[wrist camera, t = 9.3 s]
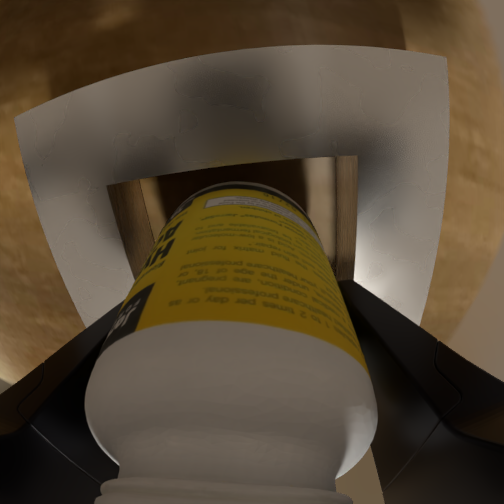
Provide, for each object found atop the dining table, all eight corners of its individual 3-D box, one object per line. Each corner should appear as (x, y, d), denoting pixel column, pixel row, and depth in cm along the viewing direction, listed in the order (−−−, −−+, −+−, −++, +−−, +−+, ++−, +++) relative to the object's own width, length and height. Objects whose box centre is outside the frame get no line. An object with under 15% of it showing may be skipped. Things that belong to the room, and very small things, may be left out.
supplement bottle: (177, 159, 9) (-47, 506, 1) (339, 203, 10) (505, 519, 1) (154, 294, 12) (79, 551, 3) (286, 323, 12) (315, 575, 4)
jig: (140, 361, 15) (127, 397, 13) (54, 108, 9) (14, 117, 7) (386, 342, 14) (401, 379, 12) (408, 60, 8) (446, 57, 6)
